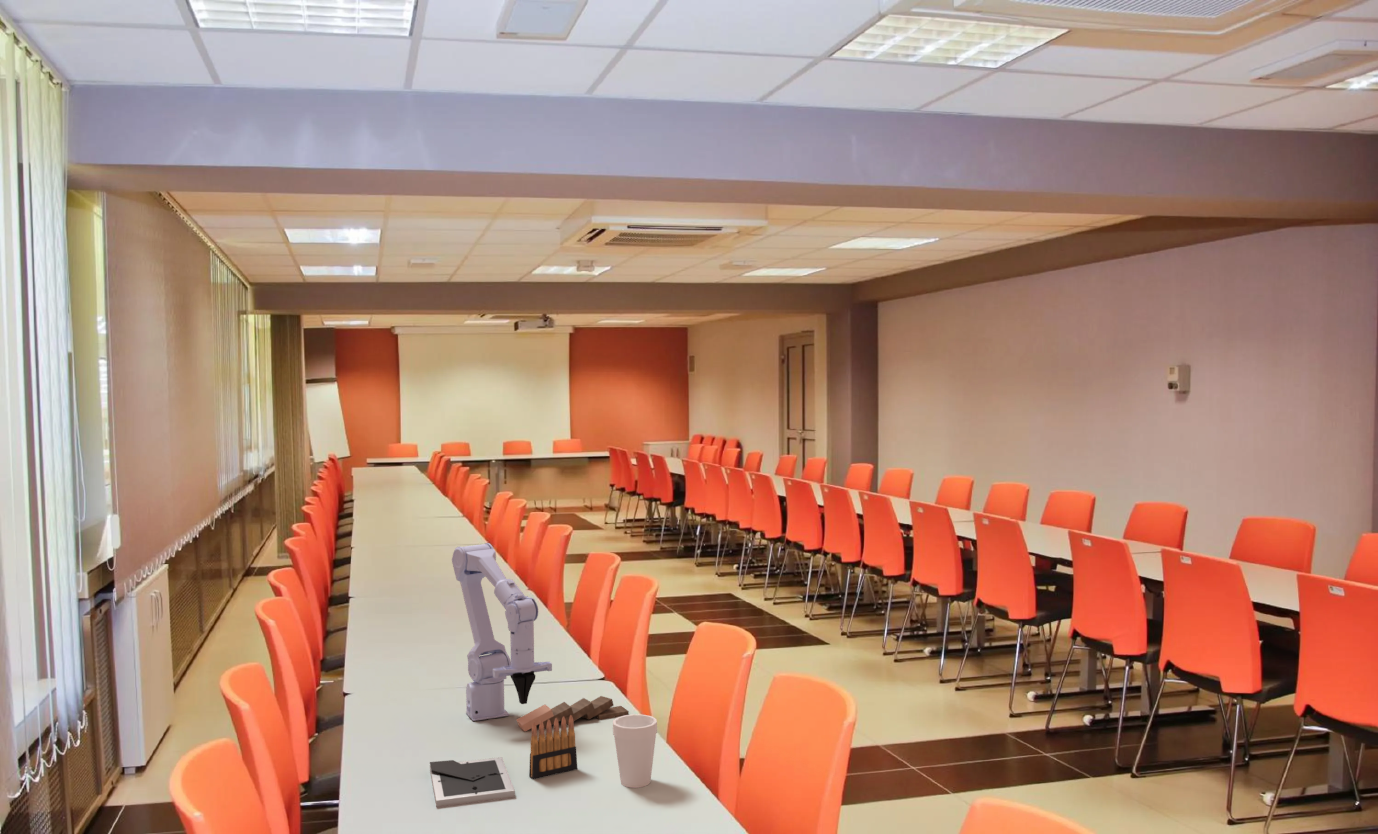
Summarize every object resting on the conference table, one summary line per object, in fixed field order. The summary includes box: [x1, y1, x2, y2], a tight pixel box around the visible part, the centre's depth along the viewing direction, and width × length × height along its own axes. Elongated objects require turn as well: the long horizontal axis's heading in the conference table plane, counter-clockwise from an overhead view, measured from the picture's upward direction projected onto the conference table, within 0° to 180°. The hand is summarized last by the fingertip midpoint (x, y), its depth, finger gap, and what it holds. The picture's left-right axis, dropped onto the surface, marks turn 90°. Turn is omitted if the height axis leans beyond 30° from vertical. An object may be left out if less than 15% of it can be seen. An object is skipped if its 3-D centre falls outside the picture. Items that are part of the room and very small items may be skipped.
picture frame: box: [429, 756, 516, 808], centre depth 219 cm, size 16×3×21 cm
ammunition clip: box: [528, 715, 578, 780], centre depth 224 cm, size 11×2×12 cm, turn 123°
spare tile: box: [516, 704, 554, 732], centre depth 256 cm, size 2×5×8 cm
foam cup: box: [612, 713, 658, 789], centre depth 219 cm, size 10×9×13 cm
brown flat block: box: [594, 705, 630, 721], centre depth 265 cm, size 2×5×8 cm
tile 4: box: [581, 695, 615, 720], centre depth 264 cm, size 2×5×8 cm
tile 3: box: [559, 697, 594, 726], centre depth 261 cm, size 2×5×8 cm
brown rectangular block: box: [543, 701, 573, 729], centre depth 258 cm, size 2×5×8 cm
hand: (523, 702), depth 254 cm, fingers closed
